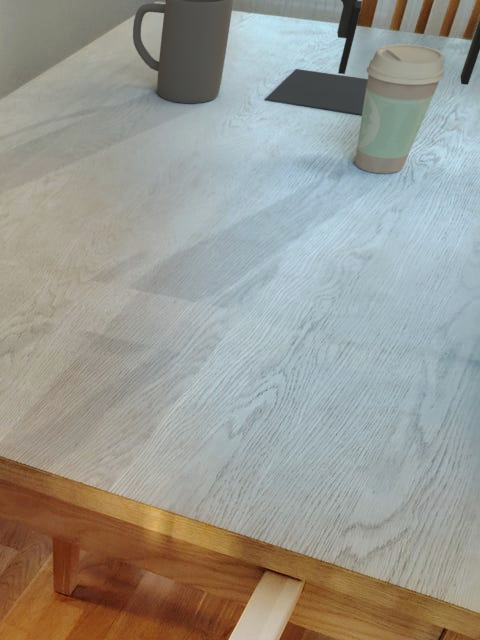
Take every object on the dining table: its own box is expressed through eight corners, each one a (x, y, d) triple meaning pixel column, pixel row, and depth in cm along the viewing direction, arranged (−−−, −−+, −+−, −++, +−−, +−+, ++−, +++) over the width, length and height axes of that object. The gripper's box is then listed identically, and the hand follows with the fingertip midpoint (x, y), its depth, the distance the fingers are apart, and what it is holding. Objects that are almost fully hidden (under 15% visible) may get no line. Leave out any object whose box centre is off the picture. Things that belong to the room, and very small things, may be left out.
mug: (227, 87, 131) (242, -12, 122) (208, 107, 126) (223, 5, 117) (139, 76, 135) (147, -21, 126) (117, 95, 130) (125, -5, 121)
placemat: (431, 89, 129) (432, 88, 129) (408, 122, 121) (408, 121, 121) (295, 69, 136) (296, 68, 136) (264, 99, 127) (264, 98, 127)
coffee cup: (352, 147, 115) (380, 38, 106) (421, 158, 112) (456, 48, 103) (335, 170, 110) (363, 58, 101) (406, 183, 107) (442, 69, 98)
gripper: (606, -171, 88) (514, 74, 104) (344, -179, 93) (295, 56, 109) (616, -159, 83) (519, 96, 99) (340, -168, 88) (290, 75, 104)
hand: (402, 75), depth 104 cm, fingers open, 13 cm apart
